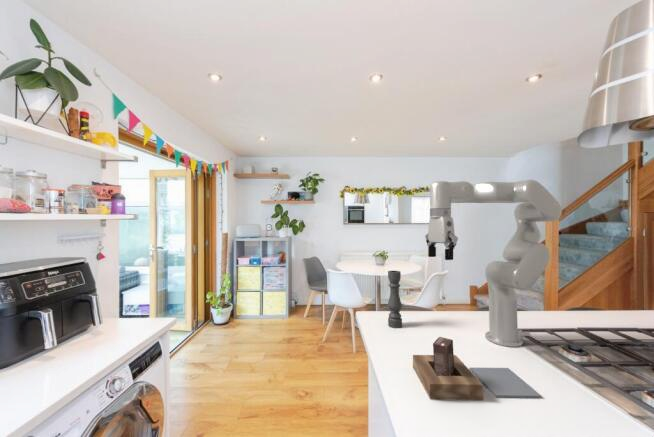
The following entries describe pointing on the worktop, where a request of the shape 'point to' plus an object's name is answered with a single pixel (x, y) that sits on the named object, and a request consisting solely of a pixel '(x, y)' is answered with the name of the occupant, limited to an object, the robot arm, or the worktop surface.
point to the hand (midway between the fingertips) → (440, 258)
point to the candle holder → (394, 300)
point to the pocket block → (447, 380)
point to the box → (443, 357)
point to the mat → (504, 383)
